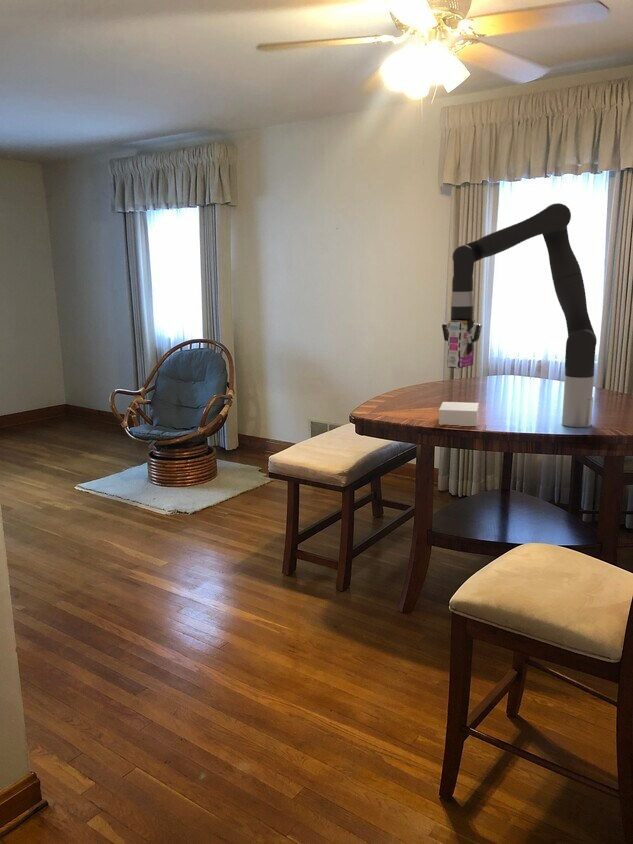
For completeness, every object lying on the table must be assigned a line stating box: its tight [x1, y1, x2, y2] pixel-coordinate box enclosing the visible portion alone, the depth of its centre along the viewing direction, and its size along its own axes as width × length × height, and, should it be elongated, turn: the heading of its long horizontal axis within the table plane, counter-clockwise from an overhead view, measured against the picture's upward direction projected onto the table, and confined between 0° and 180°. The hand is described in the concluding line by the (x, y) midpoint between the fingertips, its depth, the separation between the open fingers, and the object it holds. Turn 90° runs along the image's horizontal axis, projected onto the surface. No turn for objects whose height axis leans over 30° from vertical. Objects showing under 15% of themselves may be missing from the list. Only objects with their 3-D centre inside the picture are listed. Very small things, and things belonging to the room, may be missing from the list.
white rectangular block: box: [438, 401, 480, 427], centre depth 236 cm, size 13×15×6 cm
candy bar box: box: [447, 319, 476, 369], centre depth 231 cm, size 11×5×16 cm, turn 141°
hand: (461, 353), depth 231 cm, fingers closed on candy bar box, 5 cm apart
